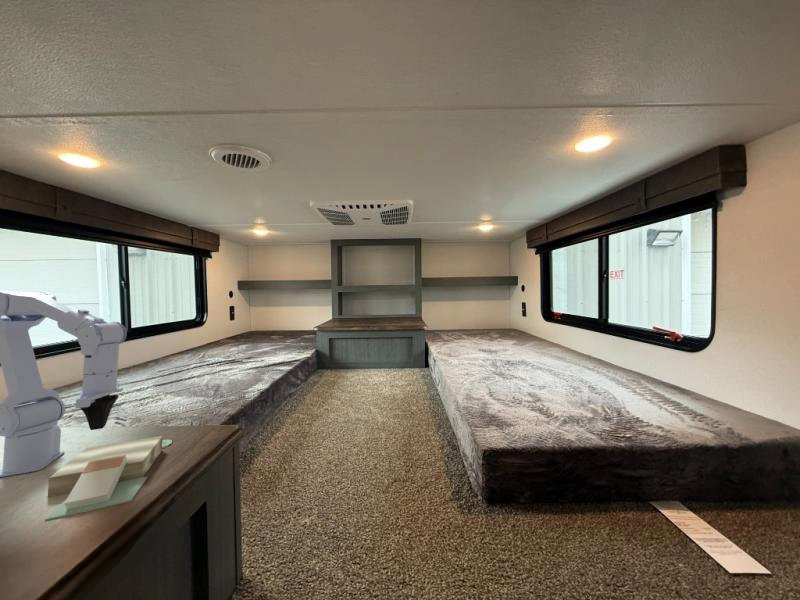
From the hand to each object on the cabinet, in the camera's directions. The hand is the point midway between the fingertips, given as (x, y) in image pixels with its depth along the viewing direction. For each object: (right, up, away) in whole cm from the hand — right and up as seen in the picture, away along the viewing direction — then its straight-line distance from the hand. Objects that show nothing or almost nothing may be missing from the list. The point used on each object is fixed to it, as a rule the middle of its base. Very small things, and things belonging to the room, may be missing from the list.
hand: (97, 428), depth 66 cm
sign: (+7, -12, +17) cm, 22 cm away
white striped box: (+9, -8, -8) cm, 15 cm away
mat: (+11, -10, -9) cm, 17 cm away
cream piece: (+3, -11, 0) cm, 11 cm away
